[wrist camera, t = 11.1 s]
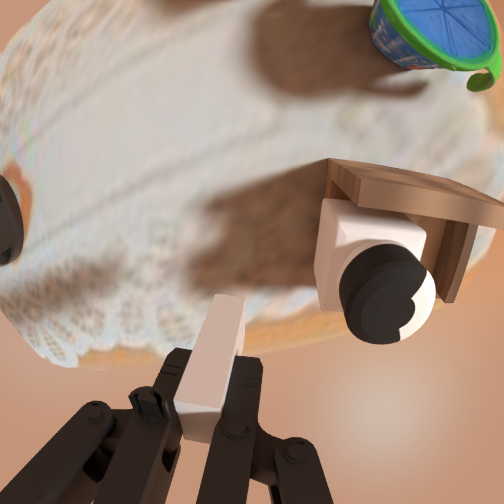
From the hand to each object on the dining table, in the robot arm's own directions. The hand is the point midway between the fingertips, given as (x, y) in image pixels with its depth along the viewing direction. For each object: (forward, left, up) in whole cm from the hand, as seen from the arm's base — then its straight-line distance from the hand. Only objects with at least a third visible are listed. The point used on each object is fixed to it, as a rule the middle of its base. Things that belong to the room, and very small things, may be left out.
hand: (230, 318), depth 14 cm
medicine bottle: (+9, 0, -14) cm, 16 cm away
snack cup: (+13, +21, -16) cm, 30 cm away
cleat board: (+13, +1, -16) cm, 21 cm away
